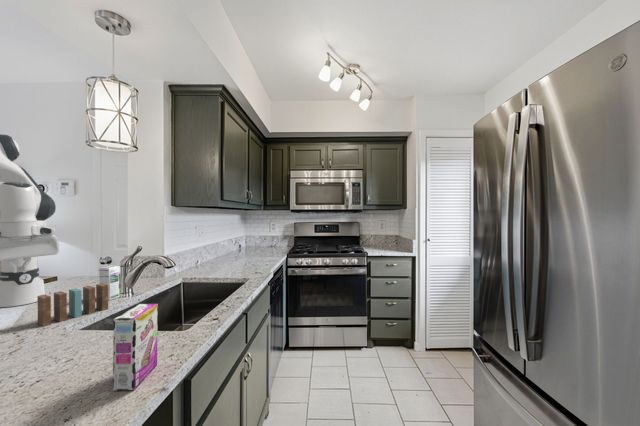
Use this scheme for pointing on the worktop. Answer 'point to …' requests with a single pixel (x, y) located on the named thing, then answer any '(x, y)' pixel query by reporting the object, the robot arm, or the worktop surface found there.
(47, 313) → the domino
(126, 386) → the candy bar box
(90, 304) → the domino
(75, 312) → the domino
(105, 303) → the domino
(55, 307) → the domino
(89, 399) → the worktop surface
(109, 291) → the syrup box
